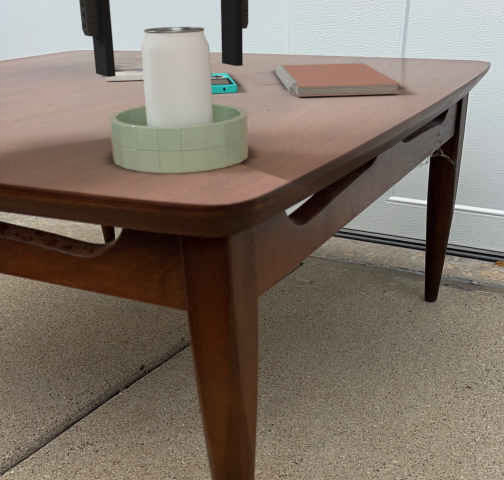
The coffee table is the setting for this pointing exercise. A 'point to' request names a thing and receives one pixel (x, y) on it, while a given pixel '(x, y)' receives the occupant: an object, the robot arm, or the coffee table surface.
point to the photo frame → (127, 73)
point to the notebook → (335, 80)
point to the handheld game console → (222, 83)
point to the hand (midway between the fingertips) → (172, 69)
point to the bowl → (179, 142)
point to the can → (177, 77)
